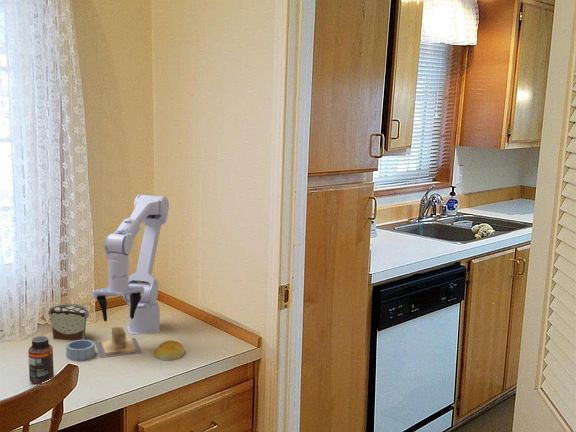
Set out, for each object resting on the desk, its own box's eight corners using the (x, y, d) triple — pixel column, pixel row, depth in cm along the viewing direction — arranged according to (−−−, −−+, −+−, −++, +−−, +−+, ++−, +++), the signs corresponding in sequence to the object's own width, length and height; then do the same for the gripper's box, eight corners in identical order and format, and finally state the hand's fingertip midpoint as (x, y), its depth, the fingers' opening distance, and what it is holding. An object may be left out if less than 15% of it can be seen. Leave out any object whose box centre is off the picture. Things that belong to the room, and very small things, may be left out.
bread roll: (150, 360, 175) (150, 347, 174) (162, 348, 183) (162, 336, 183) (177, 364, 173) (177, 350, 172) (188, 352, 182) (188, 339, 181)
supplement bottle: (48, 372, 164) (48, 332, 161) (57, 380, 159) (56, 339, 157) (25, 378, 160) (24, 337, 158) (33, 386, 155) (32, 345, 153)
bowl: (92, 349, 180) (92, 338, 179) (96, 359, 173) (96, 348, 172) (65, 352, 176) (65, 341, 176) (67, 363, 170) (67, 351, 169)
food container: (95, 335, 190) (95, 305, 188) (87, 343, 184) (87, 311, 182) (57, 332, 191) (57, 301, 189) (48, 339, 185) (47, 308, 183)
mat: (135, 339, 189) (135, 337, 189) (143, 354, 178) (143, 352, 178) (95, 343, 184) (95, 342, 184) (100, 359, 173) (100, 358, 173)
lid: (131, 340, 187) (131, 323, 186) (136, 351, 179) (137, 334, 178) (100, 343, 183) (100, 327, 182) (105, 355, 175) (105, 338, 174)
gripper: (94, 280, 170) (94, 326, 173) (146, 276, 176) (146, 320, 179) (91, 273, 177) (91, 317, 179) (141, 270, 183) (141, 313, 185)
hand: (118, 318), depth 179 cm, fingers open, 7 cm apart
